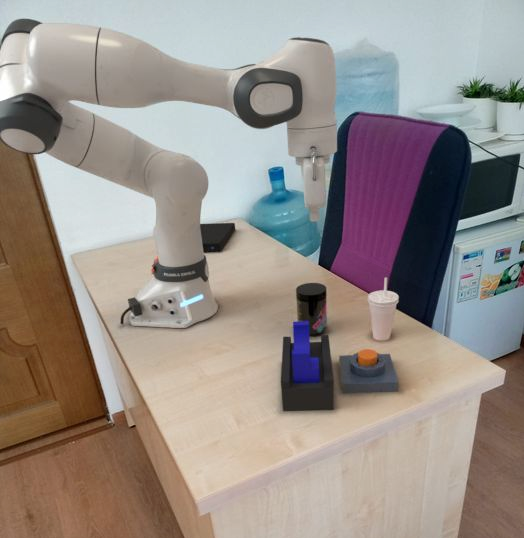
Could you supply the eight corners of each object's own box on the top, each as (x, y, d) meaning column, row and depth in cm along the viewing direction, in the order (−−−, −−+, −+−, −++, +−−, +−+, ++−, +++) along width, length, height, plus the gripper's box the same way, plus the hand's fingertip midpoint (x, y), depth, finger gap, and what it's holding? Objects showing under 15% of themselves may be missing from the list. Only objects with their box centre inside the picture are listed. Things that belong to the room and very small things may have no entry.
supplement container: (309, 340, 111) (307, 297, 105) (292, 329, 116) (289, 288, 111) (333, 331, 113) (332, 289, 108) (315, 321, 119) (314, 280, 113)
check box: (342, 393, 93) (342, 375, 91) (339, 364, 101) (339, 347, 99) (397, 391, 92) (399, 373, 90) (389, 363, 100) (390, 345, 98)
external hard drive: (235, 230, 186) (234, 222, 185) (220, 252, 167) (219, 243, 165) (198, 231, 189) (197, 223, 188) (180, 252, 170) (178, 244, 168)
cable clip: (319, 382, 88) (318, 353, 85) (293, 383, 88) (292, 354, 85) (317, 347, 98) (316, 320, 95) (294, 348, 98) (293, 321, 95)
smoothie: (379, 346, 106) (381, 285, 99) (360, 334, 111) (361, 276, 104) (402, 338, 108) (406, 278, 101) (383, 326, 113) (386, 268, 106)
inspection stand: (283, 411, 89) (280, 381, 86) (285, 364, 103) (283, 336, 100) (333, 410, 89) (333, 379, 85) (328, 362, 102) (328, 334, 99)
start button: (358, 367, 93) (359, 359, 92) (356, 357, 96) (357, 349, 96) (378, 366, 93) (378, 358, 92) (375, 356, 96) (376, 348, 95)
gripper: (333, 151, 80) (334, 235, 87) (327, 134, 98) (328, 205, 105) (294, 154, 81) (298, 237, 88) (294, 136, 99) (298, 206, 106)
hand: (314, 219), depth 97 cm, fingers closed
